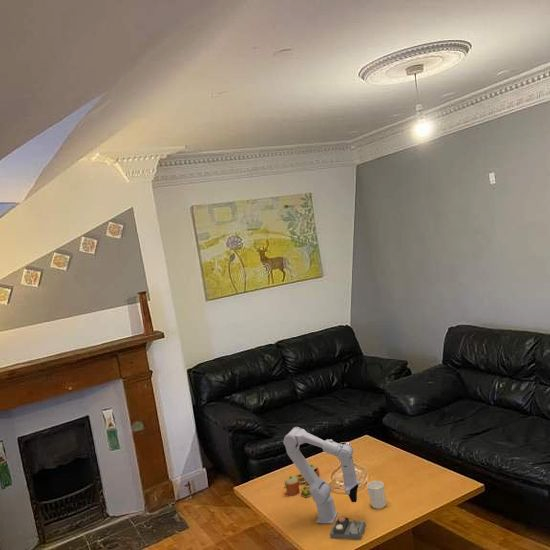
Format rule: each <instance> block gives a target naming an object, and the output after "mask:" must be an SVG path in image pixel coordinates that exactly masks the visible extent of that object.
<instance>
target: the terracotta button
mask: <svg viewBox="0 0 550 550" xmlns="http://www.w3.org/2000/svg"><path fill="white" fill-rule="evenodd" d="M345 518H346V516H344V515H341V516H338V518H337V520H338V519H339V523H346V519H345Z"/></svg>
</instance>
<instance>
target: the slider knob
mask: <svg viewBox="0 0 550 550" xmlns="http://www.w3.org/2000/svg"><path fill="white" fill-rule="evenodd" d="M350 531H351V534H358V531H359V525H358V524H354V523H351V526H350Z"/></svg>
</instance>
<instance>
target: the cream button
mask: <svg viewBox="0 0 550 550" xmlns="http://www.w3.org/2000/svg"><path fill="white" fill-rule="evenodd" d="M336 529H338V530H343V525H341V524H338V525H336Z"/></svg>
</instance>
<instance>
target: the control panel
mask: <svg viewBox="0 0 550 550" xmlns="http://www.w3.org/2000/svg"><path fill="white" fill-rule="evenodd" d="M345 519H346V523H339V519H338V518H337V520H334V521H335V522H334V523H333V526H332V528H331V530H330V532H329V536H330V539H341V540H342V539H343V540H344V539H345V540H359V539H361V538H362V537H363V536H364V533H365V531H366V528H365V527H367V525H366V521H365V520H363V519H362V521H356V520H355V519H353V520H352V521H350V519H349V517H345ZM351 523H354V524H358V525H359V531H358V534H351V531H350V526H351ZM338 524H341V525H343V530H338V529H336V525H338ZM363 532H364V533H363ZM362 535H363V536H362ZM362 539H363V538H362ZM362 539H361V540H362Z"/></svg>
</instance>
